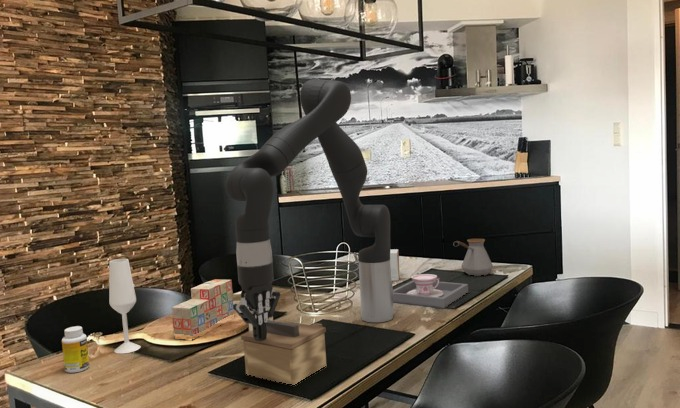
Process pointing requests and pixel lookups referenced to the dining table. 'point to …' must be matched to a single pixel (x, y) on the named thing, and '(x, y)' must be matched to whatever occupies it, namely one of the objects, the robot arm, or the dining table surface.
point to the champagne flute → (122, 297)
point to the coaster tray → (449, 295)
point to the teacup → (425, 285)
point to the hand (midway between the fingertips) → (260, 339)
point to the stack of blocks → (204, 307)
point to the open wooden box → (285, 360)
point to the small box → (394, 264)
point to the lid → (287, 333)
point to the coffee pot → (476, 258)
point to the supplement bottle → (75, 350)
